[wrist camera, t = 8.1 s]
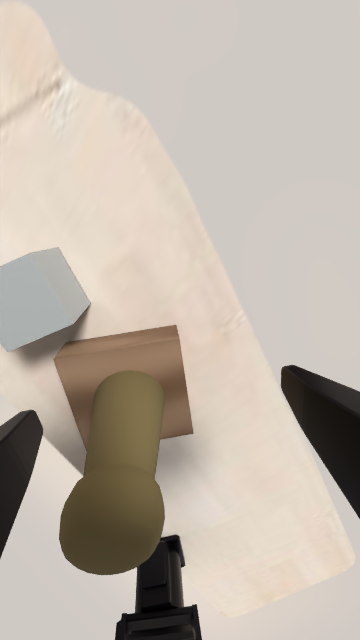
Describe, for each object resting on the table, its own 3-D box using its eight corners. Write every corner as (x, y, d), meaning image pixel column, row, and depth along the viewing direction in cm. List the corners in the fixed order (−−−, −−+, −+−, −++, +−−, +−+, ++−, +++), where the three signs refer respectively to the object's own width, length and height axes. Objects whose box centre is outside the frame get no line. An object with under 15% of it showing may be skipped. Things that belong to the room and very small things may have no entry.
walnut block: (189, 411, 26) (193, 433, 24) (94, 428, 26) (87, 452, 23) (176, 324, 23) (179, 338, 20) (65, 342, 22) (53, 359, 20)
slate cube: (91, 302, 21) (73, 324, 17) (39, 325, 22) (7, 352, 17) (58, 247, 20) (29, 253, 15) (2, 272, 20) (-44, 286, 15)
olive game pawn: (109, 435, 23) (72, 607, 12) (82, 382, 20) (11, 538, 10) (173, 417, 23) (189, 574, 12) (153, 361, 20) (152, 497, 10)
